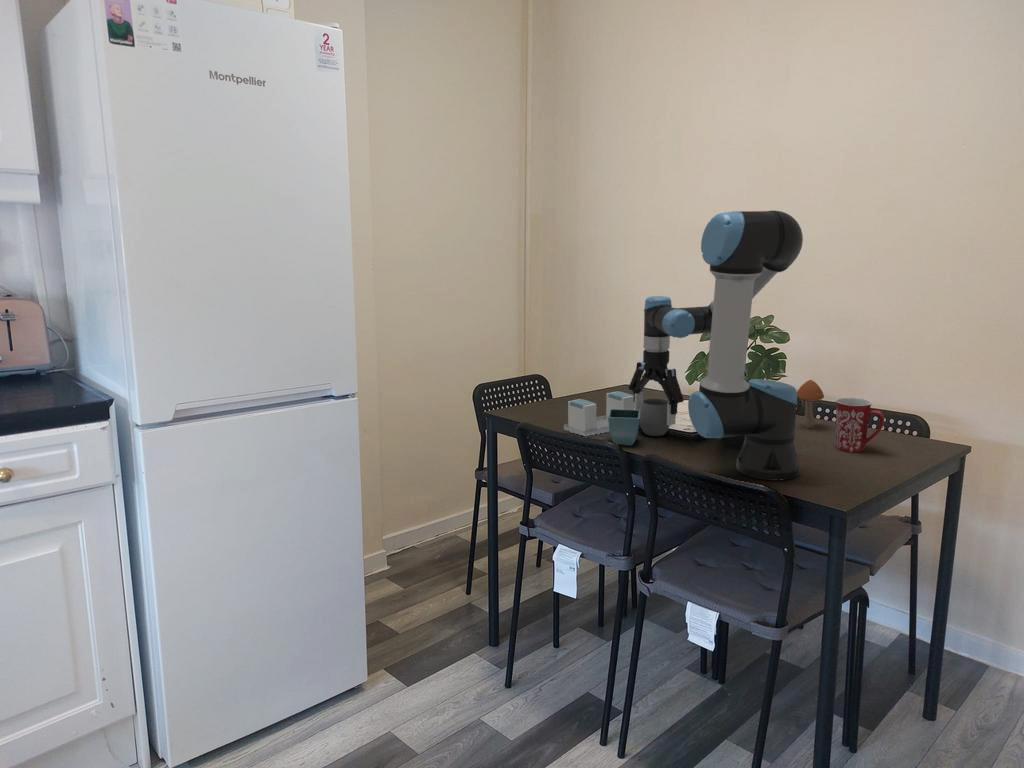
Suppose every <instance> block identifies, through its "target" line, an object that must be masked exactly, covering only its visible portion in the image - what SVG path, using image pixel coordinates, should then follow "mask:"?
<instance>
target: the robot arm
mask: <svg viewBox="0 0 1024 768" xmlns="http://www.w3.org/2000/svg"><path fill="white" fill-rule="evenodd" d="M803 242H804V237H803V231H802V228H801V225H800V224H799V222H798V221H797V220H796V219H795V218H794V216H792V215H790V214H789V213H787V212H784V211H782V210H754V211H753V210H749V211H747V210H746V211H745V210H744V211H742V210H741V211H740V210H735V211H734V210H732V211H728V212H727V211H725V212H721V213H720V212H719V213H717V214H715V215H713V217H712V218H710V220H709V221H708V222H707V224H706V226H705V228H704V230H703V233H702V237H701V243H700V251H701V253H702V254H701V256H702V259H703V260H704V262H705V263H706V264H707V265H709V272H710V273H711V275H713V276H714V279H715V283H714V293H713V300H712V301H711V303H709V304H708V305H707V306H692V307H673V305H672V299H671V298H670V297H669V296H662V295H661V296H660V295H659V296H657V295H655V296H654V295H653V296H647V298H646V299H645V301H644V309H643V312H644V314H643V315H644V319H643V322H644V324H643V349H644V350H643V354H642V355H643V358H642V360H643V361H639V362H637V363H636V365H635V367H636V368H635V371H634V373H633V376H632V378H631V379H630V383H629V385H628V390H630V391H632V393H633V396H634V410H640V412H641V406H642V401H643V400H644V392H643V389H644V388H645V387H646V385H647V384H648V383H649V381H654V382H655V383H658V384H659V385H660V386H661V389H662V390H663V391H664V394H665V396H666V398H667V399H668V400H667V401H668V405H667V425H670V426H672V425H675V424H676V415H677V414H678V405H679V404H680V403H683V402H684V397H683V394H682V390H681V387H680V384H679V381H678V377H677V369H676V368H672V369H671V368H668V364H669V362H670V351H669V349H670V345H671V344H670V343H671V337H672V338H679V339H683V338H687V337H688V336H690V335H700V334H710V337H709V338H710V339H709V348H708V361H707V372H706V376H704V377H703V378H701V380H700V381H699V387H698V390H696V391H693V392H692V393H691V394H690V396H689V397H688V403H687V407H688V408H687V409H688V415H689V419H690V421H691V424H692V426H693V429H694V430H695V431H696V432H697V434H699V436H701V437H703V438H705V439H722V438H729V437H736V436H744V441H743V444H742V446H741V449H740V450H739V454H738V455H737V457H736V466H735V467H736V470H737V471H738V472H739V473H740V474H742V475H744V476H746V477H750V478H754V479H757V478H760V479H759V480H763V479H777V480H776V481H781V480H780V479H788V480H791V479H790V478H792V479H794V477H795V478H797V477H798V476H799V474H800V462H799V457H798V454H797V451H796V446H795V432H796V429H795V428H796V418H797V417H796V416H797V415H796V414H797V405H798V397H797V391H798V390H797V389H796V387H794V386H793V385H791V384H788V383H785V382H781V381H777V380H772V379H771V380H770V379H761V378H760V379H759V378H752V379H750V380H748V381H747V380H746V379H745V370H746V361H747V353H748V351H747V350H748V345H749V344H748V343H749V333H750V326H751V325H750V323H751V316H752V315H751V313H752V305H753V299H754V298H755V297H756V296H757V295H758V293H760V292H761V291H762V290H763V289H764V288H765V286H766V285H767V284H768V283H769V282H770V281H771V280H772V279H773V278H774V277H775V276H776V274H778V273H783V272H785V271H786V270H787V269H788V268H790V266H791V265H793V263H794V262H795V261H796V260H797V258H798V257H799V254H801V253H800V252H801V251H802V247H803ZM796 476H797V477H796Z"/></svg>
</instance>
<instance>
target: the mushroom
mask: <svg viewBox="0 0 1024 768" xmlns="http://www.w3.org/2000/svg"><path fill="white" fill-rule="evenodd" d="M796 391H797V399H800V400H803V401H804V406H805V407H804V408H805V410H804V411H805V412H804V418H803V426H804V428H807V429H810V428H811V429H813V428H814V426H815V424H816V423H815V416H814V412H813V408H814V407H813V406H814V405H813V402H814V401H821V400H822V399H824V398H825V395H824V392H823V390H822V389H821V387H820V386H819V384H818V383H816V381H814V380H812V379H808V380H807V381H805V382H804V383H803V384H801V386H800V387H799V388H798V390H796Z"/></svg>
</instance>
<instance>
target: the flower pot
mask: <svg viewBox="0 0 1024 768" xmlns="http://www.w3.org/2000/svg"><path fill="white" fill-rule="evenodd" d="M639 419H640V410H622V409H610V412H609V416H608V422H609V432H608V433H609V436H610V438H611V441H612V443H614V442H615V443H618V444H628V445H627V446H633V445H634V443H635V441H636V440H637V437H638V433H639V426H640V424H639Z"/></svg>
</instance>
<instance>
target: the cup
mask: <svg viewBox="0 0 1024 768" xmlns="http://www.w3.org/2000/svg"><path fill="white" fill-rule="evenodd" d="M668 403H669V400H666V399H662V398H646V399H643V401H642V406H641V412H640V419H639V426H640V428H641V431H642V432H643V433H644V434H645V435H647V436H649V437H660V436H661V437H662V436H665V434H667V432H668V430H669V428H670V426H671V425H667V405H668Z"/></svg>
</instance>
